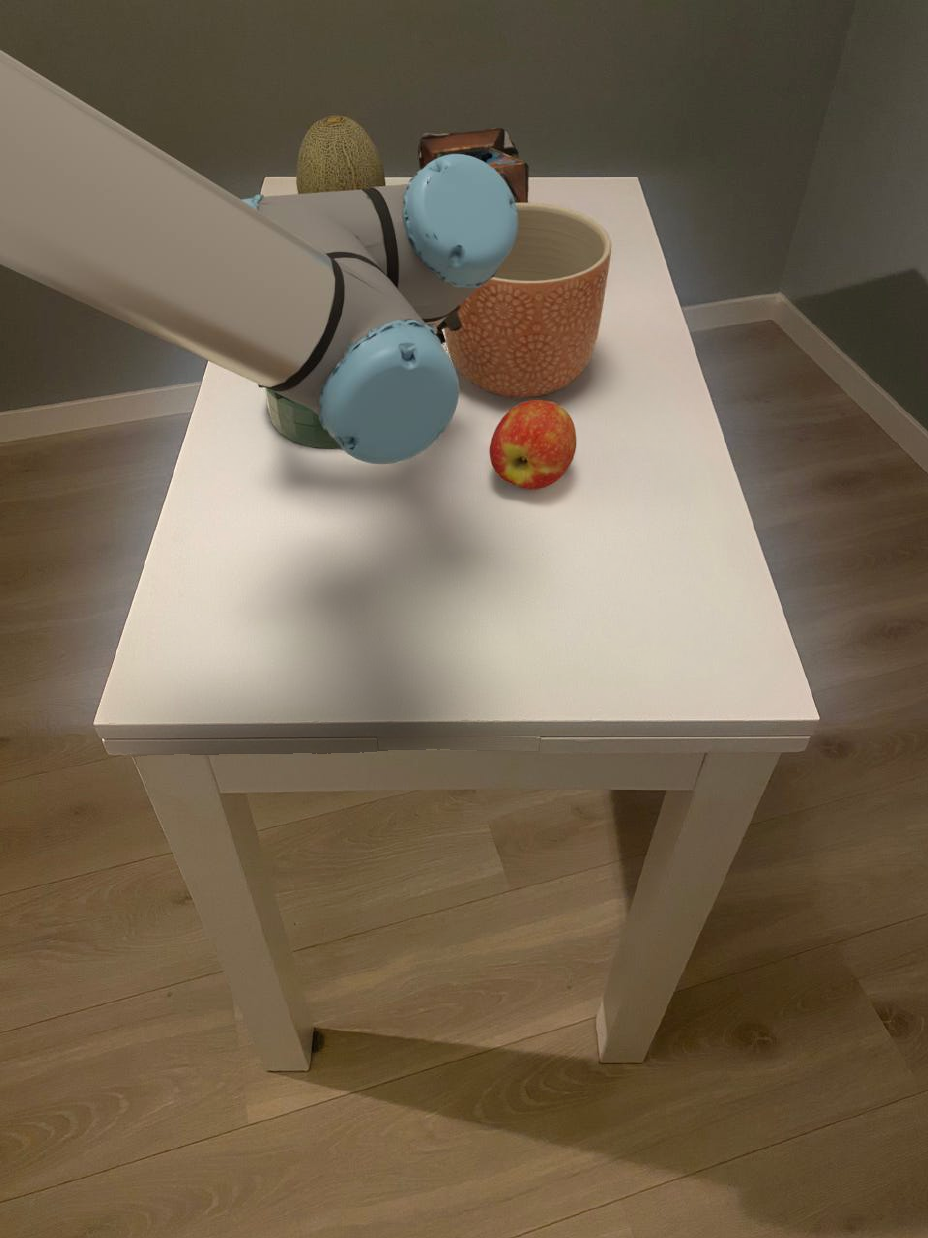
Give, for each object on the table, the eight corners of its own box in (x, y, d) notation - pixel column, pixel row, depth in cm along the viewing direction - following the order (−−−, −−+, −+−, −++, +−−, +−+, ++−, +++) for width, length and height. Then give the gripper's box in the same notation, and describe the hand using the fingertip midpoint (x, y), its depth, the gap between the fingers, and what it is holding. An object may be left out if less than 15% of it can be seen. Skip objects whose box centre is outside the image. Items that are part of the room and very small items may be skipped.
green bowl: (310, 465, 93) (305, 428, 89) (247, 399, 100) (239, 362, 97) (425, 417, 98) (424, 380, 95) (357, 357, 106) (353, 321, 102)
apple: (478, 490, 90) (479, 422, 84) (510, 441, 95) (514, 374, 89) (555, 513, 88) (562, 444, 82) (584, 462, 93) (593, 394, 87)
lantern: (454, 257, 134) (490, 342, 117) (375, 174, 124) (401, 253, 107) (542, 174, 128) (592, 250, 111) (465, 79, 118) (508, 146, 101)
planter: (578, 327, 110) (591, 197, 99) (610, 412, 99) (629, 277, 88) (435, 336, 109) (431, 205, 97) (450, 423, 97) (449, 287, 86)
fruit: (393, 218, 129) (386, 101, 118) (382, 257, 121) (374, 136, 110) (311, 215, 129) (297, 98, 118) (295, 254, 122) (279, 133, 111)
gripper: (266, 383, 68) (233, 439, 88) (553, 299, 76) (464, 368, 96) (228, 283, 67) (204, 363, 87) (523, 209, 76) (439, 297, 96)
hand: (340, 366), depth 92 cm, fingers open, 13 cm apart
